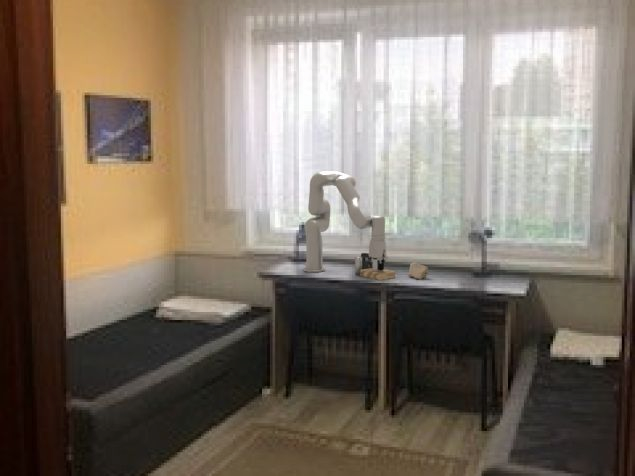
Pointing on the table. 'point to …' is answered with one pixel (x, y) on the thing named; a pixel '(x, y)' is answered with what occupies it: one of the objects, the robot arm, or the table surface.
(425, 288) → the table surface
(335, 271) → the table surface
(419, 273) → the decorative stone
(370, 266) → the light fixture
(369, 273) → the bore block
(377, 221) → the robot arm
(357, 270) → the round bit
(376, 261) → the square bit
